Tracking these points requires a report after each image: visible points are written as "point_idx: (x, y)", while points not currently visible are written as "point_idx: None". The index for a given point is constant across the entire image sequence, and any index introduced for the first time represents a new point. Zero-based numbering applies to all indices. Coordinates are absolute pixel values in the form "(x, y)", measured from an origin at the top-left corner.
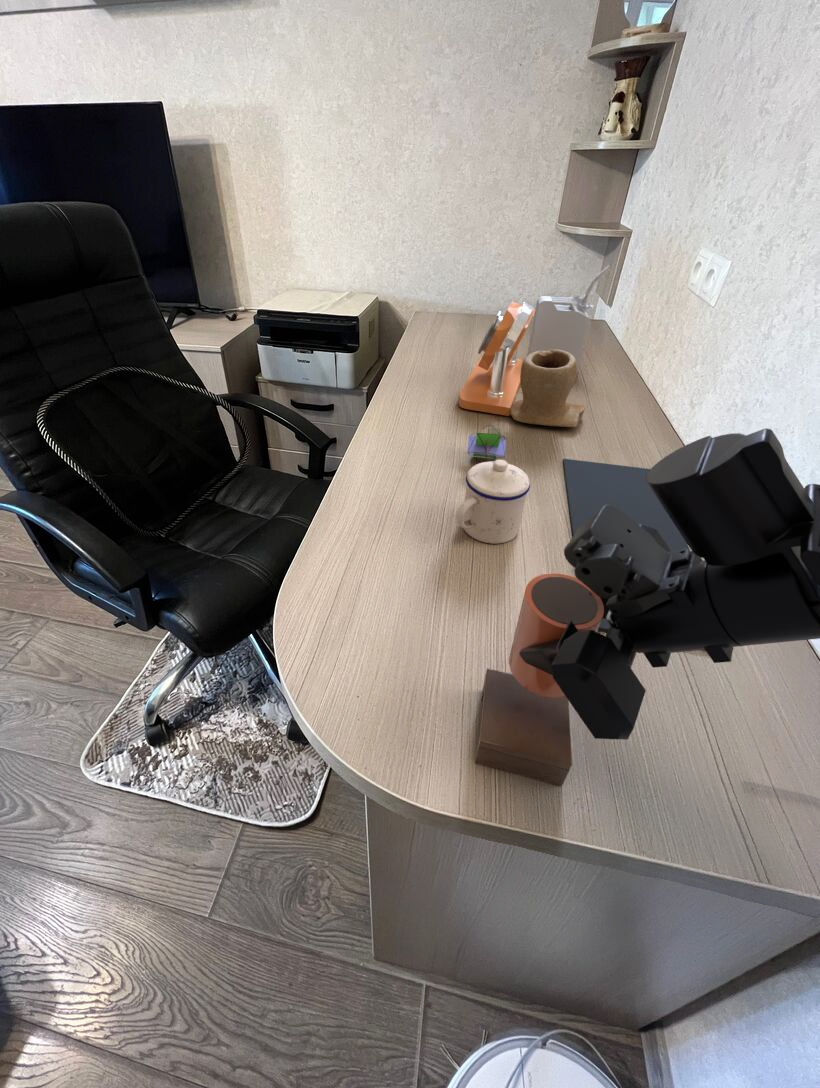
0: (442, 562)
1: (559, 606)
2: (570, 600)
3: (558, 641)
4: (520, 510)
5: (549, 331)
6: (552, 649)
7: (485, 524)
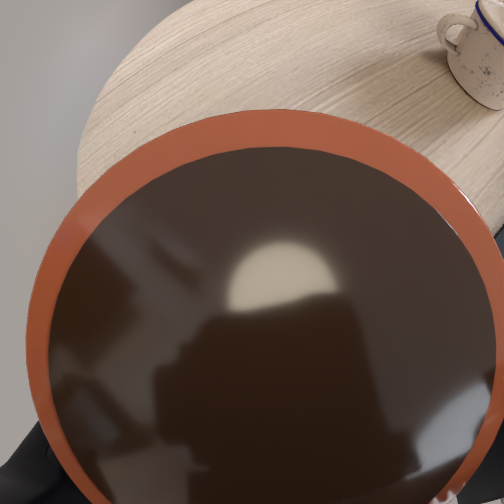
0: (388, 58)
1: (172, 426)
2: (296, 455)
3: (48, 460)
4: None
5: None
6: (23, 444)
7: (470, 62)
